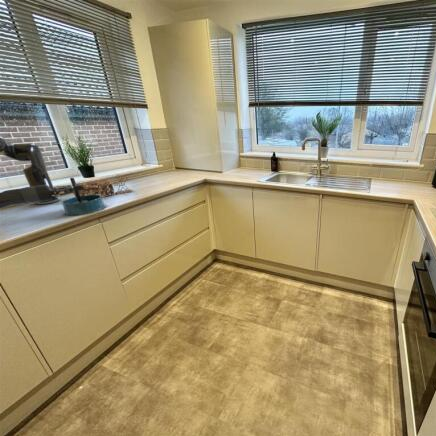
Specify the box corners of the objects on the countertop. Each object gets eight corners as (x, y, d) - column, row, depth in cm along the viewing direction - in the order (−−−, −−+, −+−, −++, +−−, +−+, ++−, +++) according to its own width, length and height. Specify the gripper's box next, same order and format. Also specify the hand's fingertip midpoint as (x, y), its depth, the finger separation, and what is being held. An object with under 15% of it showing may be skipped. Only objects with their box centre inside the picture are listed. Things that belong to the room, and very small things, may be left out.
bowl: (57, 214, 121) (52, 203, 118) (86, 204, 136) (83, 194, 133) (85, 215, 119) (81, 204, 116) (112, 205, 134) (108, 195, 131)
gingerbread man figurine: (116, 194, 154) (111, 176, 150) (115, 193, 157) (110, 175, 152) (132, 191, 160) (127, 173, 155) (131, 190, 162) (126, 173, 158)
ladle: (72, 209, 124) (60, 178, 118) (82, 205, 130) (72, 176, 124) (82, 209, 123) (71, 178, 118) (92, 205, 129) (82, 176, 123)
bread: (78, 202, 140) (72, 185, 136) (75, 199, 146) (69, 183, 142) (116, 195, 153) (111, 179, 149) (111, 192, 159) (106, 177, 155)
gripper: (33, 188, 107) (82, 181, 119) (33, 183, 116) (78, 178, 128) (40, 204, 110) (87, 196, 122) (39, 198, 119) (83, 191, 131)
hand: (82, 187), depth 125 cm, fingers closed on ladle
